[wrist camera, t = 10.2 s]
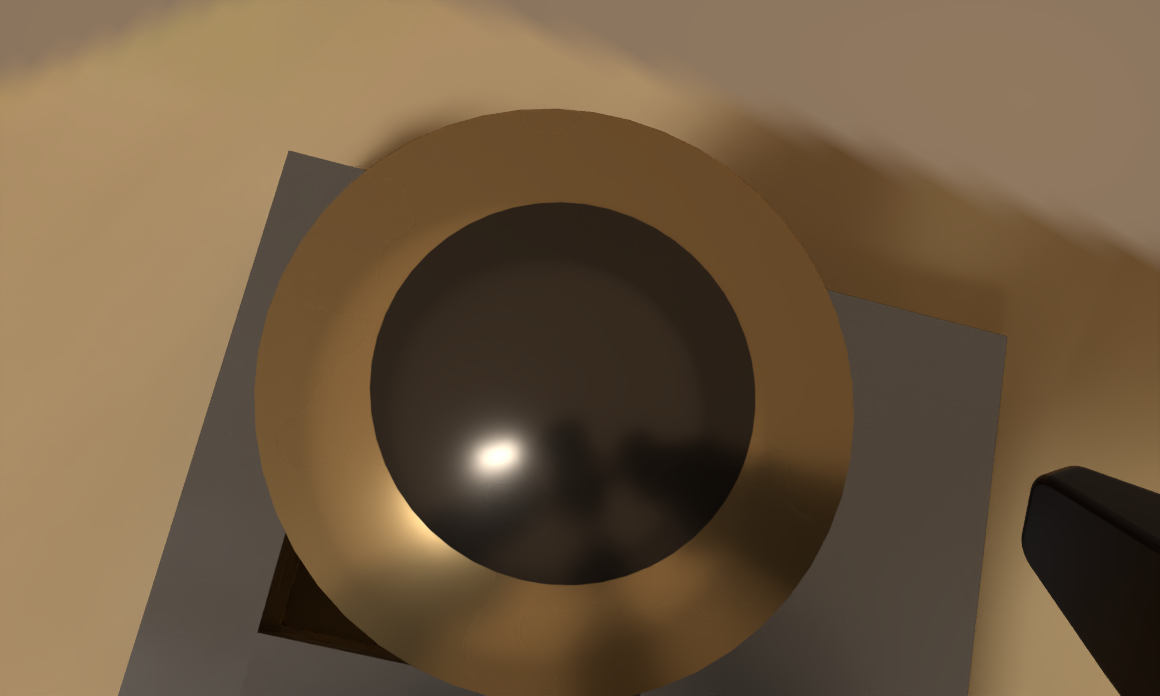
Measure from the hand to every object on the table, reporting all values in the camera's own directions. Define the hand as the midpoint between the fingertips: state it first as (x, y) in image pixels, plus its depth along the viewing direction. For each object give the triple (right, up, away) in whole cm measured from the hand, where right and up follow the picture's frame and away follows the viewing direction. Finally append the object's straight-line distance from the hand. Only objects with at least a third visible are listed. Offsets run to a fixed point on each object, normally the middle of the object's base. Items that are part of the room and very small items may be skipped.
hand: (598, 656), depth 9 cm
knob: (-2, 0, +12) cm, 12 cm away
